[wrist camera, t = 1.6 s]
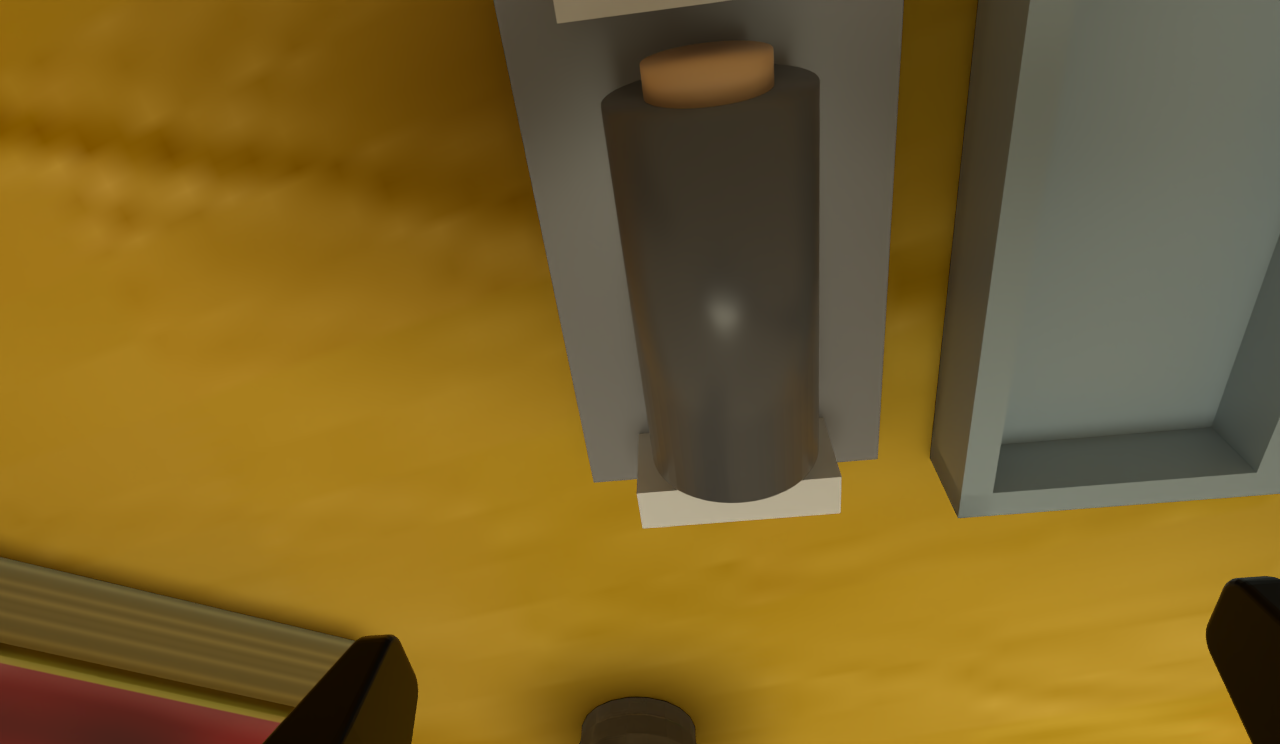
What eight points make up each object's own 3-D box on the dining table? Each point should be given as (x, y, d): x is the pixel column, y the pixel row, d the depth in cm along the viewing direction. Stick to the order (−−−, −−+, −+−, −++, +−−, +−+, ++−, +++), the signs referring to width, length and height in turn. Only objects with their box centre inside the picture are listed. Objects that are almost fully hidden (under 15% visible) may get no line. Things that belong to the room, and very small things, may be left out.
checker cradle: (869, 436, 22) (900, 519, 19) (596, 459, 23) (587, 544, 20) (897, -142, 15) (956, -145, 12) (487, -82, 15) (447, -72, 12)
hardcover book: (331, 790, 34) (294, 896, 31) (-199, 683, 30) (-311, 790, 27) (376, 627, 28) (335, 736, 24) (-284, 468, 24) (-443, 570, 21)
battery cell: (804, 391, 20) (833, 495, 17) (653, 405, 20) (652, 510, 17) (800, 22, 15) (840, 65, 12) (602, 48, 16) (587, 97, 12)
